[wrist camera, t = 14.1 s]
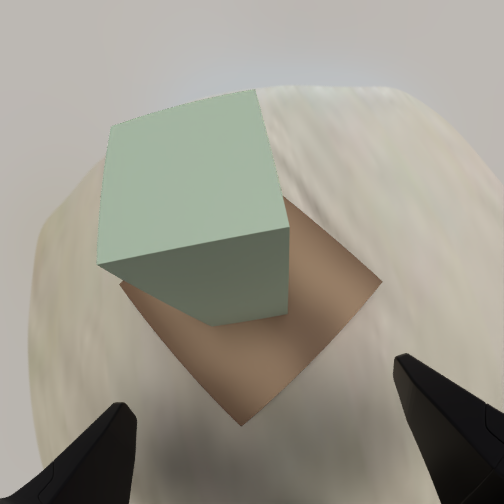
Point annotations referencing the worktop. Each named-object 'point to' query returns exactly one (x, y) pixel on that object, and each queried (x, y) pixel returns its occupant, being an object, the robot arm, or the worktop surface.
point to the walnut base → (268, 323)
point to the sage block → (197, 210)
